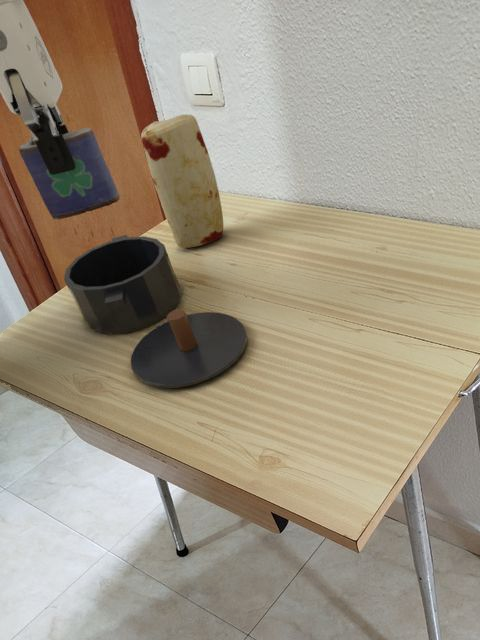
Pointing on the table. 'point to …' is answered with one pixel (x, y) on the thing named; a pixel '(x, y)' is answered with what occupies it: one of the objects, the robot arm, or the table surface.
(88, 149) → the flask
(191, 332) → the pan lid
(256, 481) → the table surface
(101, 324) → the pan
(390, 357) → the table surface
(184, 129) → the food model
